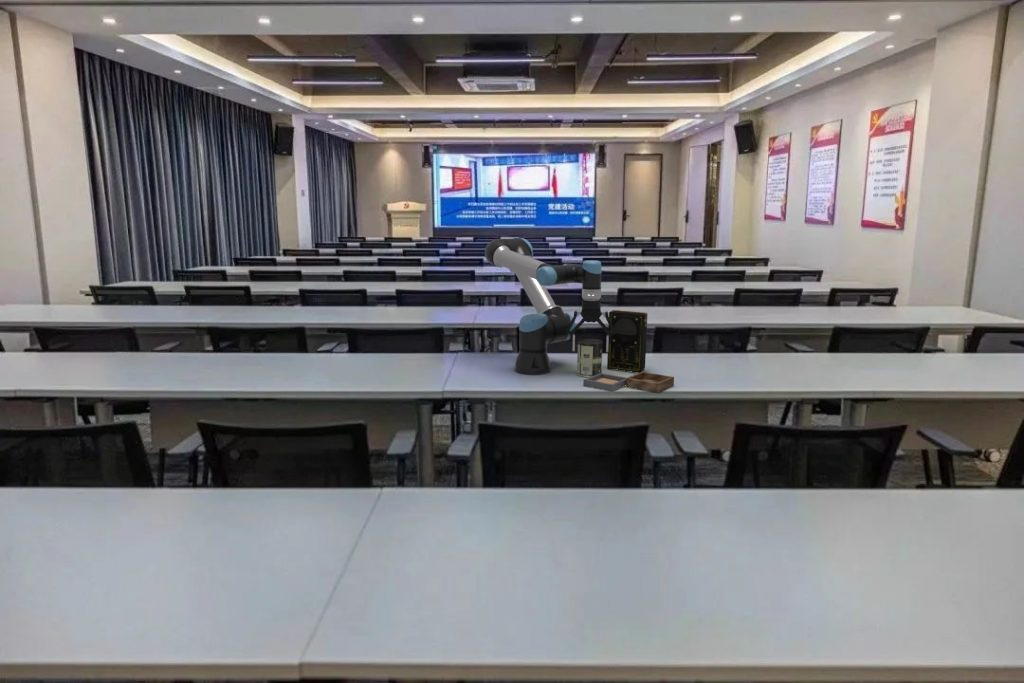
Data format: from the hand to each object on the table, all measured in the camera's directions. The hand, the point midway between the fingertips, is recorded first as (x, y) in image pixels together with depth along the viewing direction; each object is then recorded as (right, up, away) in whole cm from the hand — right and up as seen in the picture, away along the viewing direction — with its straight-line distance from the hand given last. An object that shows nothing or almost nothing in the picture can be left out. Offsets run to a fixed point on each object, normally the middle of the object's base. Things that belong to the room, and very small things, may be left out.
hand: (590, 351), depth 280 cm
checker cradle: (+5, -13, -14) cm, 20 cm away
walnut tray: (+21, -13, -15) cm, 29 cm away
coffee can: (0, -10, +2) cm, 10 cm away
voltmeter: (+16, -8, +11) cm, 21 cm away
